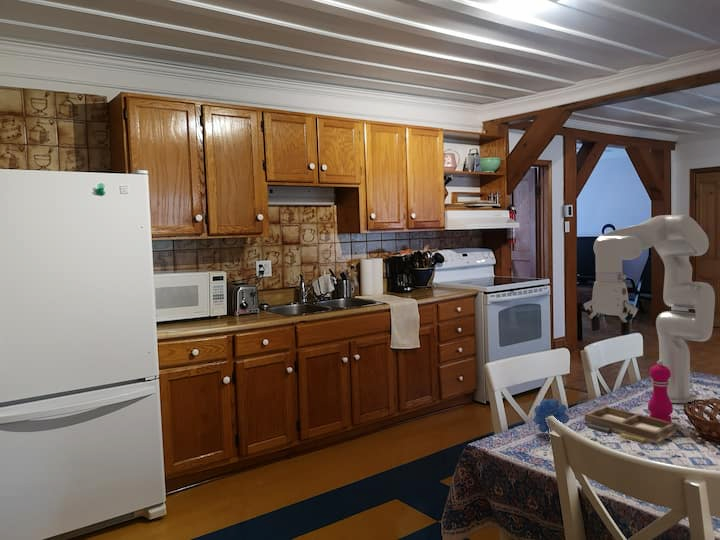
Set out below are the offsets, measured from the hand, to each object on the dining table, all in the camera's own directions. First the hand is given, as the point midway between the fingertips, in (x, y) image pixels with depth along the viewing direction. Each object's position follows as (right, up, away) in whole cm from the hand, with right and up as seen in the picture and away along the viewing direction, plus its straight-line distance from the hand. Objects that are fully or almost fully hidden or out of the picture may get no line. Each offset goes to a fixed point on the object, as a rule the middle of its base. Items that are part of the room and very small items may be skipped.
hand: (610, 332), depth 177 cm
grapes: (-18, -32, 0) cm, 37 cm away
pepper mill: (+19, -30, +6) cm, 36 cm away
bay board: (+6, -30, +1) cm, 31 cm away
